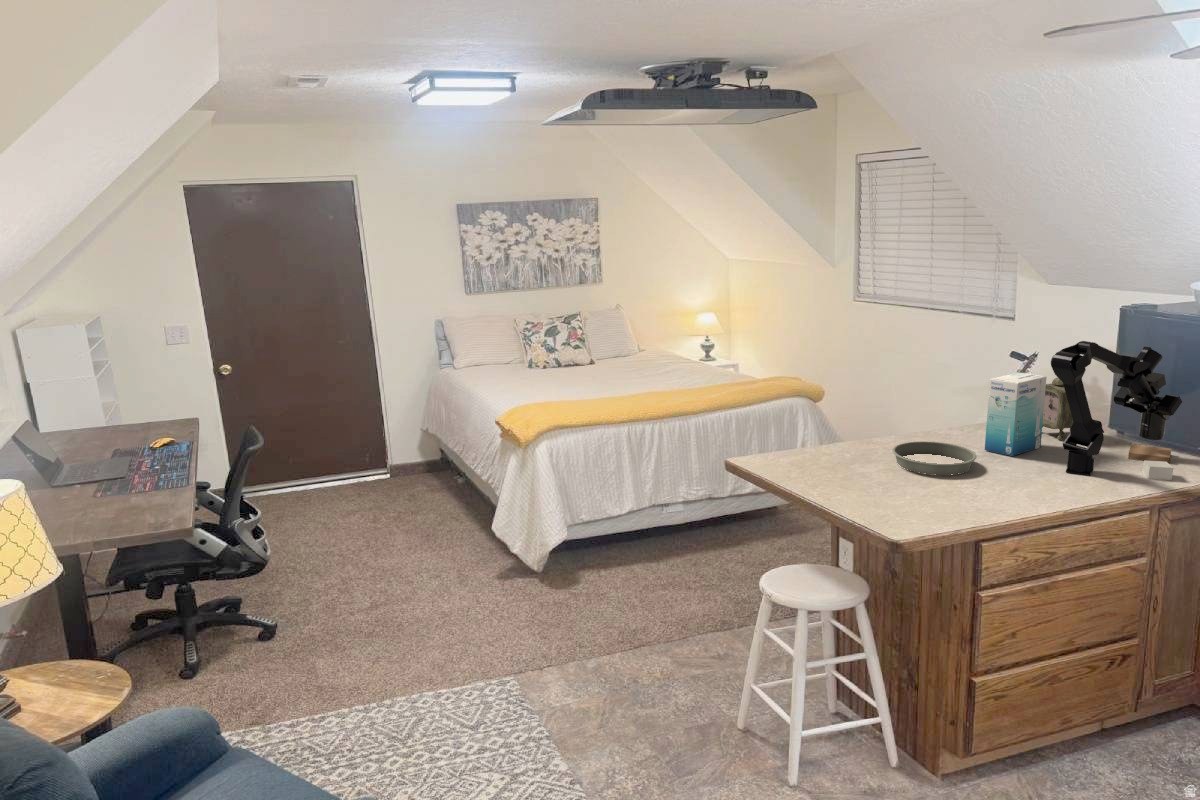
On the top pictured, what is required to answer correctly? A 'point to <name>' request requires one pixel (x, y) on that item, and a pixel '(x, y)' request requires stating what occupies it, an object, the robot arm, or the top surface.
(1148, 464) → the grey block
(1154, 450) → the tan slab
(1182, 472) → the top surface
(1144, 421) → the supplement bottle
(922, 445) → the cake pan
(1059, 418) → the tabletop clock
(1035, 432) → the toothbrush box
